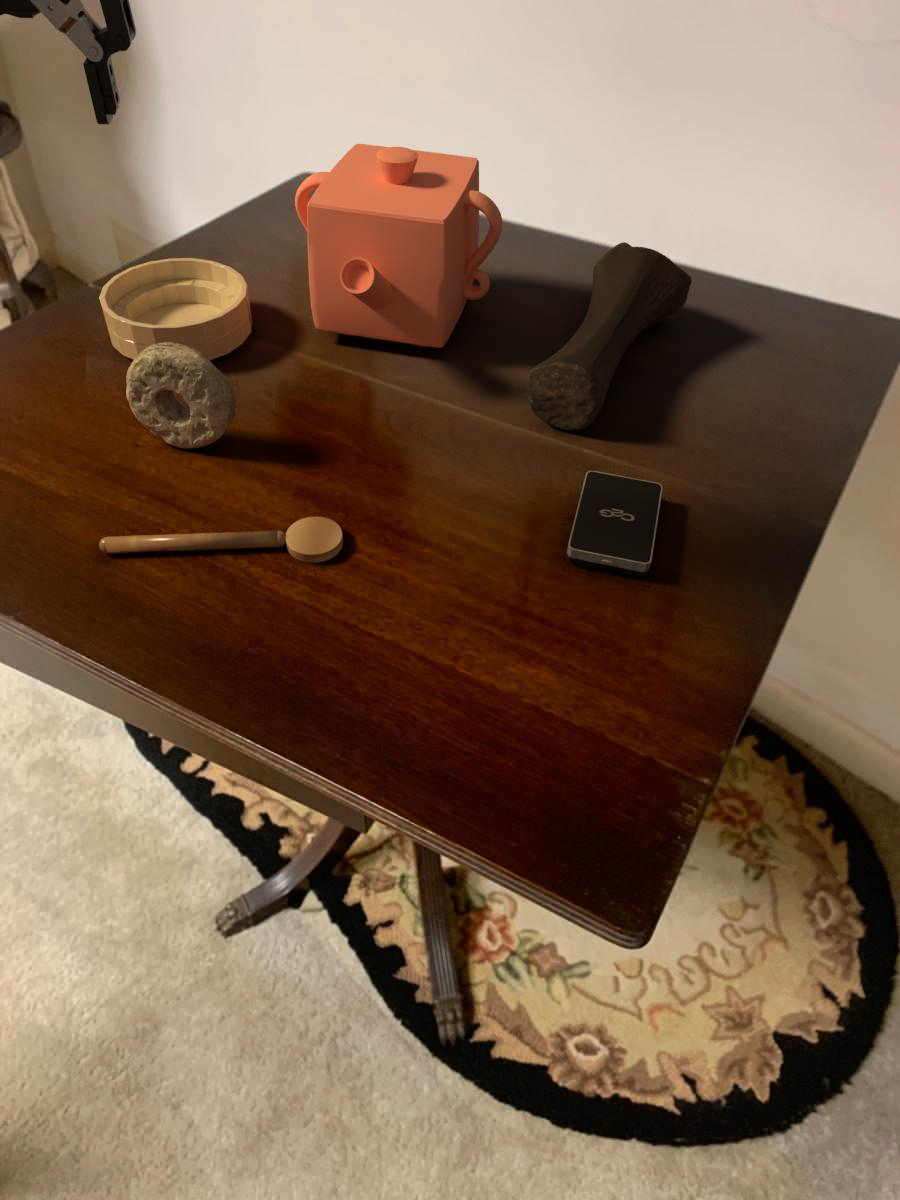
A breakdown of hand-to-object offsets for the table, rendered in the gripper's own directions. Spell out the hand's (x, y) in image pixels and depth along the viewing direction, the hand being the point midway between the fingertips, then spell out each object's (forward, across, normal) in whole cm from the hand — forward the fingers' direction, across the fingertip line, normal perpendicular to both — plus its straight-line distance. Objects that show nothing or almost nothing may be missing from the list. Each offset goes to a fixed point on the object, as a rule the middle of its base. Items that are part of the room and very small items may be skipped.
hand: (40, 120), depth 59 cm
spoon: (+30, +8, -10) cm, 33 cm away
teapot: (+30, +24, +25) cm, 46 cm away
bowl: (+30, +1, +25) cm, 39 cm away
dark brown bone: (+30, +47, +17) cm, 59 cm away
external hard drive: (+30, +42, -10) cm, 53 cm away
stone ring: (+30, +4, +5) cm, 31 cm away
